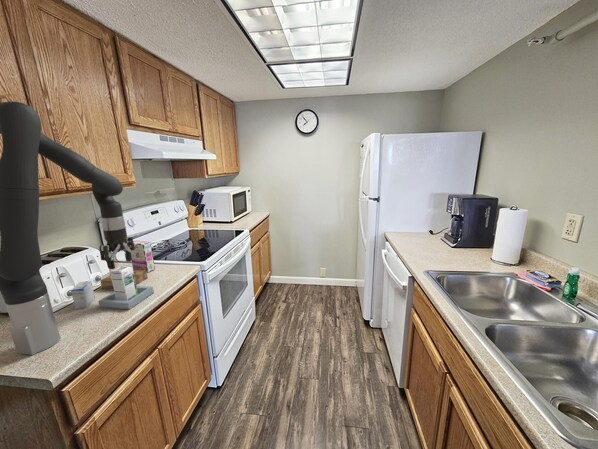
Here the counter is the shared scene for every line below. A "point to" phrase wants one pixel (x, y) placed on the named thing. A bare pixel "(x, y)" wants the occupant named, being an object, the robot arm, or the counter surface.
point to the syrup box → (124, 283)
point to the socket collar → (138, 274)
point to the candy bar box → (142, 256)
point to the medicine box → (82, 294)
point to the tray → (126, 305)
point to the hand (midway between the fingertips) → (120, 264)
